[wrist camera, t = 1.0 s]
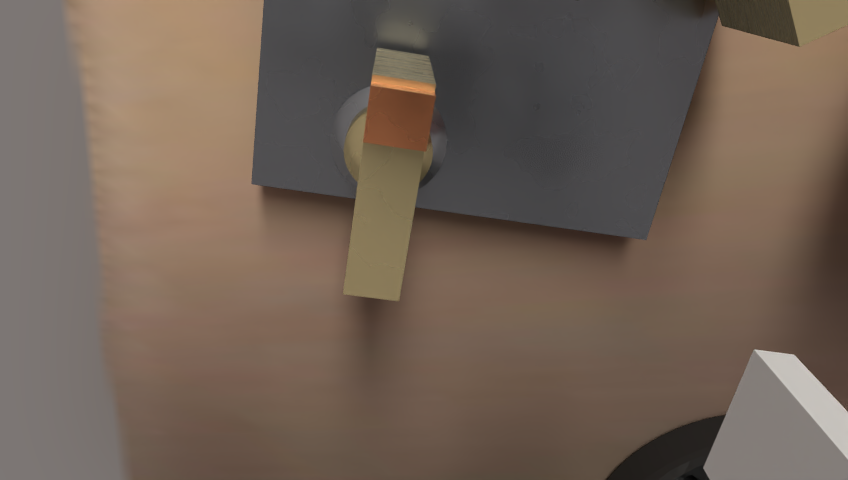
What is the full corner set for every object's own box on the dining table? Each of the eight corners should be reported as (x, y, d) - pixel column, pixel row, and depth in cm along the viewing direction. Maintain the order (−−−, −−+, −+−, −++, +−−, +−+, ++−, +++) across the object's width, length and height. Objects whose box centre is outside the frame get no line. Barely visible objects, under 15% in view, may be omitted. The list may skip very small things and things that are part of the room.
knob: (415, 233, 27) (421, 313, 21) (335, 222, 27) (318, 300, 21) (447, 56, 24) (462, 92, 19) (358, 41, 24) (345, 74, 18)
